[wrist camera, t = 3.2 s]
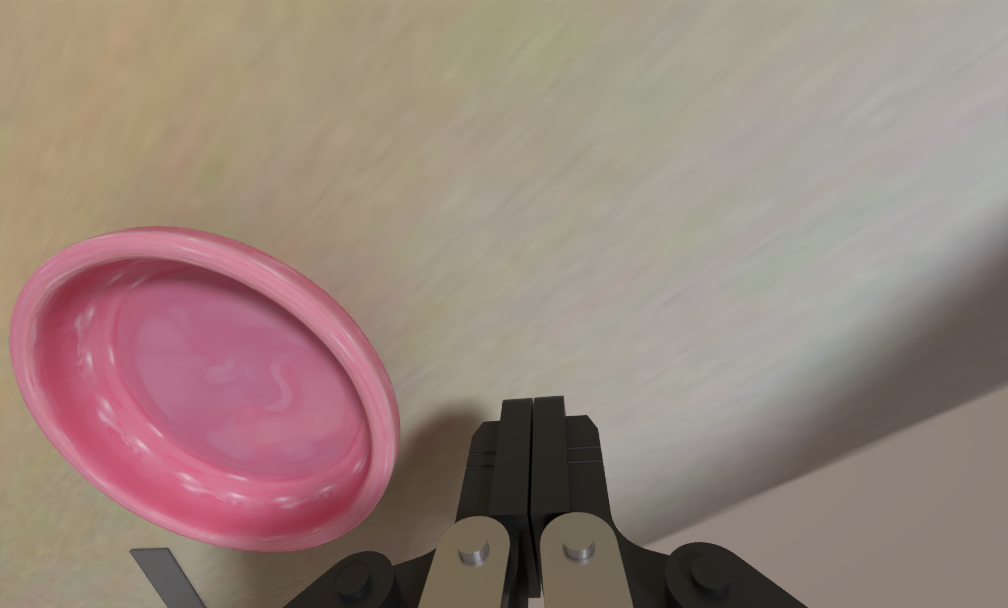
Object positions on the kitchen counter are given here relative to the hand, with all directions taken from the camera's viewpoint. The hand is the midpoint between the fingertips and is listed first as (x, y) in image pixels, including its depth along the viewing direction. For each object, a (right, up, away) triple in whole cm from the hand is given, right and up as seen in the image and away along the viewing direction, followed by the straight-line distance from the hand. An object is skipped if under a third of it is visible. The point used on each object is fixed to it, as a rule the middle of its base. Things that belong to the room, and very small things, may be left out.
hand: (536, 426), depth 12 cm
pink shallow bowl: (-10, +1, +6) cm, 12 cm away
